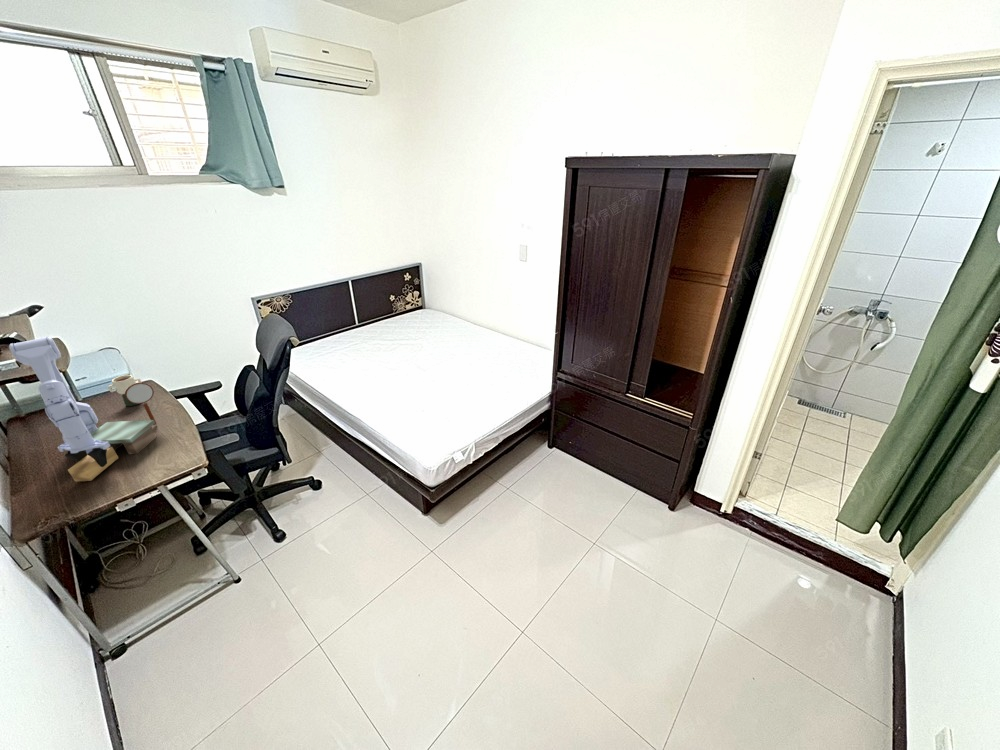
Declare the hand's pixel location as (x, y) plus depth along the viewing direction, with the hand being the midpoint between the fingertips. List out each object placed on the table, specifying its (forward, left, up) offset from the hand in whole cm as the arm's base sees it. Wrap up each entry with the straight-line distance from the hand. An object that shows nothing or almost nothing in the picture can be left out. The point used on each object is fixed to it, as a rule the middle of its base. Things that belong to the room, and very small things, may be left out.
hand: (95, 465), depth 138 cm
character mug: (-21, +47, -3) cm, 52 cm away
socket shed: (0, +13, -2) cm, 14 cm away
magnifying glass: (+1, +27, -3) cm, 28 cm away
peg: (0, 0, -2) cm, 2 cm away
